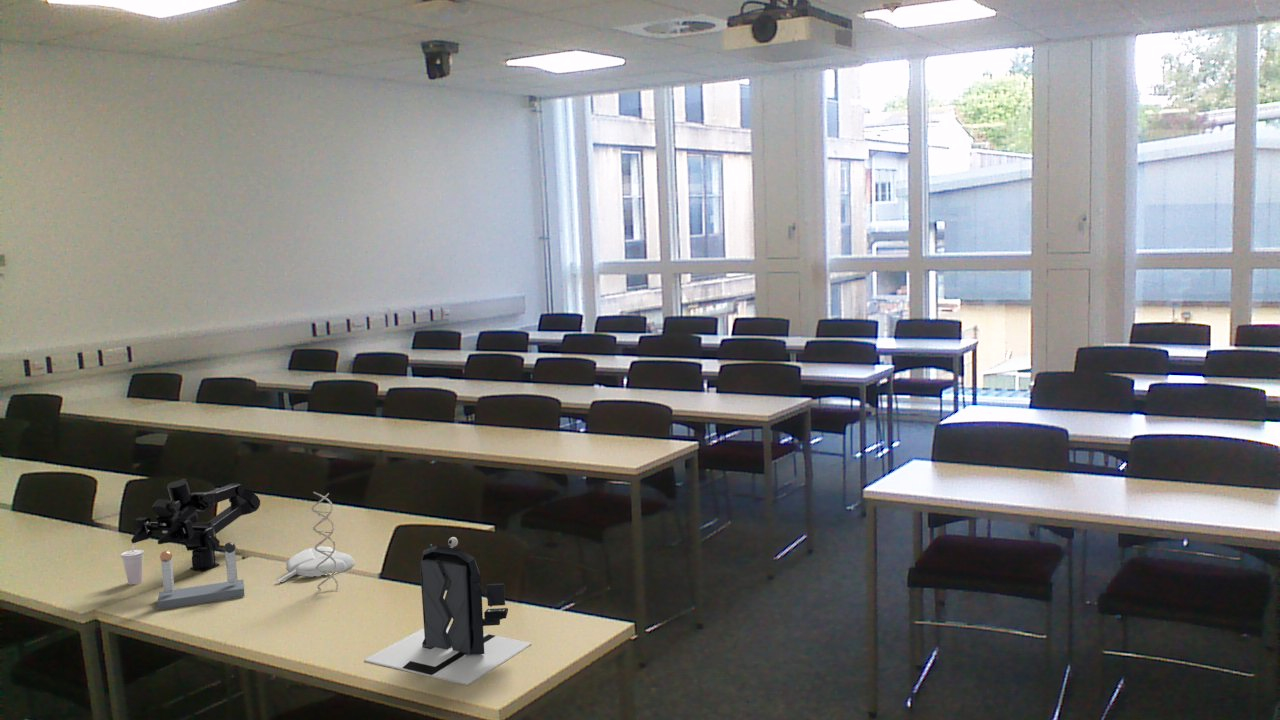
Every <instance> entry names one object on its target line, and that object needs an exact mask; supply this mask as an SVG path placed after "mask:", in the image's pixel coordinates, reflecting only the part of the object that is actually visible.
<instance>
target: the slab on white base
mask: <svg viewBox="0 0 1280 720" xmlns="http://www.w3.org/2000/svg"><path fill="white" fill-rule="evenodd" d="M447 544H448V546H440V545H434V546H433V544H432V543H431V544H429V546H430V547H429V548H426V549H424V550H423V551H422V556H421V559H420V560H421V561H420V566H419V567H420V571H419V572H420V584H421V585H420V587H421V600H422V601H421V602H422V617H423V627H422V628H421V629H420V630H417V631H415V632H414V633H412V634H411V633H410V635H408V636H406V637H404V638H401V639H400V640H398V641H396V642H395V643H392V644H391V645H389V646H387V647H385V648H383V649H381V650H380V651H378V652H376V653H374V654H372V655H370V656H367V658H365V659H364V662H366V663H370V664H375V665H379V666H382V667H387V668H392V669H395V668H396V670H399V671H405V672H409V673H414V674H417V675H422V676H425V677H429V678H435V679H440V680H442V681H443V680H444V681H446V682H450V683H457V684H459V685H460V684H461V685H466V686H469V685H471V684H473V683H474V682H476V681H477V680H479V679H480V678H482V677H483V676H485V675H487V674H488V673H490V672H492V671H493V670H494V669H496V668H497V667H499V666H501V665H502V664H503V663H506V661H508V660H510V659H511V658H513V657H514V656H517V655H518V654H520V653H521V652H523V651H524V650H525V649H527V648H528V647H530V646H531V645H532V642H529V641H523V640H519V639H513V638H509V637H504V636H499V635H495V634H489V633H484V627H490V626H500V624H501V621H502V620H503V619H507V615H508V613H509V608H507V607H504V608H503V607H502V608H492V607H495V606H506V595H505V583H489V584H486V591H485V590H484V588H483V586H482V576H481V572H480V570H479V567H478V565H477V561H476V558H475V557H474V556H472V555H471V554H470V553H467V552H466V551H464V550H463V549H461V548H457V547H456V546H458V544H459V540H458V539H457V537H455V536H452V537H450V538H449V539H448V542H447ZM455 547H456V548H455ZM443 562H444V563H443ZM447 586H448V587H447ZM446 589H447V591H446ZM444 596H445V598H444ZM483 596H484V597H486V600H487V606H488V607H490V608H487V609H486V610H485V611H484V612H483ZM483 617H484V618H483ZM451 621H452V622H451ZM450 623H451V624H450ZM449 625H450V626H449Z"/></svg>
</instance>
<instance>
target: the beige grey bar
mask: <svg viewBox="0 0 1280 720" xmlns="http://www.w3.org/2000/svg"><path fill="white" fill-rule="evenodd" d="M236 548H237V547H236V545H235V543H234V542H227V543H225V544H224V546H223V550H224V553H225V554H224V555H225V566H226V568H225V569H226V578H227V582H228V583H229V584H231V583H235V582H238V580H239V579H238V570H237V568H238V567H237V562H236V560H237V559H236Z"/></svg>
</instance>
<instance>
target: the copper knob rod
mask: <svg viewBox="0 0 1280 720" xmlns="http://www.w3.org/2000/svg"><path fill="white" fill-rule="evenodd" d="M159 555H160V556H159V559H160V565H161V576H162V587H163V591H164V593H171V592H174V591H175V590H176V589H175V580H174V579H175V578H174V570H173V559H172V558H173V553H172V552H171V551H168V550H165V551H164V550H163V551H162V552H161V553H160V554H159Z"/></svg>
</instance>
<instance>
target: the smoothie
mask: <svg viewBox="0 0 1280 720" xmlns="http://www.w3.org/2000/svg"><path fill="white" fill-rule="evenodd" d="M130 540H132V538H130ZM144 555H145V552H144V550H143V549H135V543H132V542H131V550H127V551H124V552H122V553H121V554H120V558H121V559H122V563H123V567H124V571H125V574H126V579H127V583H128V585H129V584H130V585H131V584H135V585H139V584H141V583H142V581H143V561H144ZM138 583H139V584H138ZM131 586H132V585H131Z"/></svg>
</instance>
